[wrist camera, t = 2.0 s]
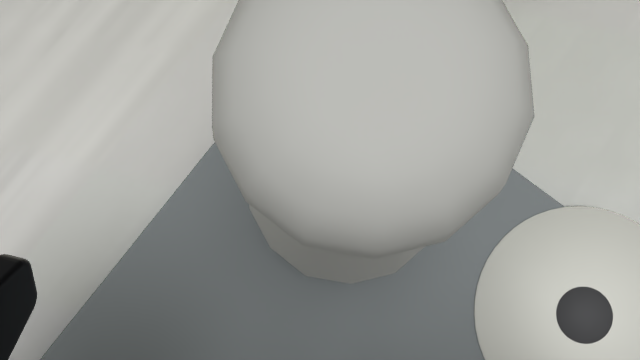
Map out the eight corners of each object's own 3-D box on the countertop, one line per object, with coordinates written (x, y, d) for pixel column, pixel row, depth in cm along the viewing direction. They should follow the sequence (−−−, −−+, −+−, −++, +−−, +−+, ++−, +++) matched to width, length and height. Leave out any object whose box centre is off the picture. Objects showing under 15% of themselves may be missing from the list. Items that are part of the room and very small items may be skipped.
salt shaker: (334, 316, 19) (341, 439, 6) (222, 182, 20) (26, 52, 7) (468, 199, 20) (727, 98, 7) (355, 72, 20) (399, -242, 7)
